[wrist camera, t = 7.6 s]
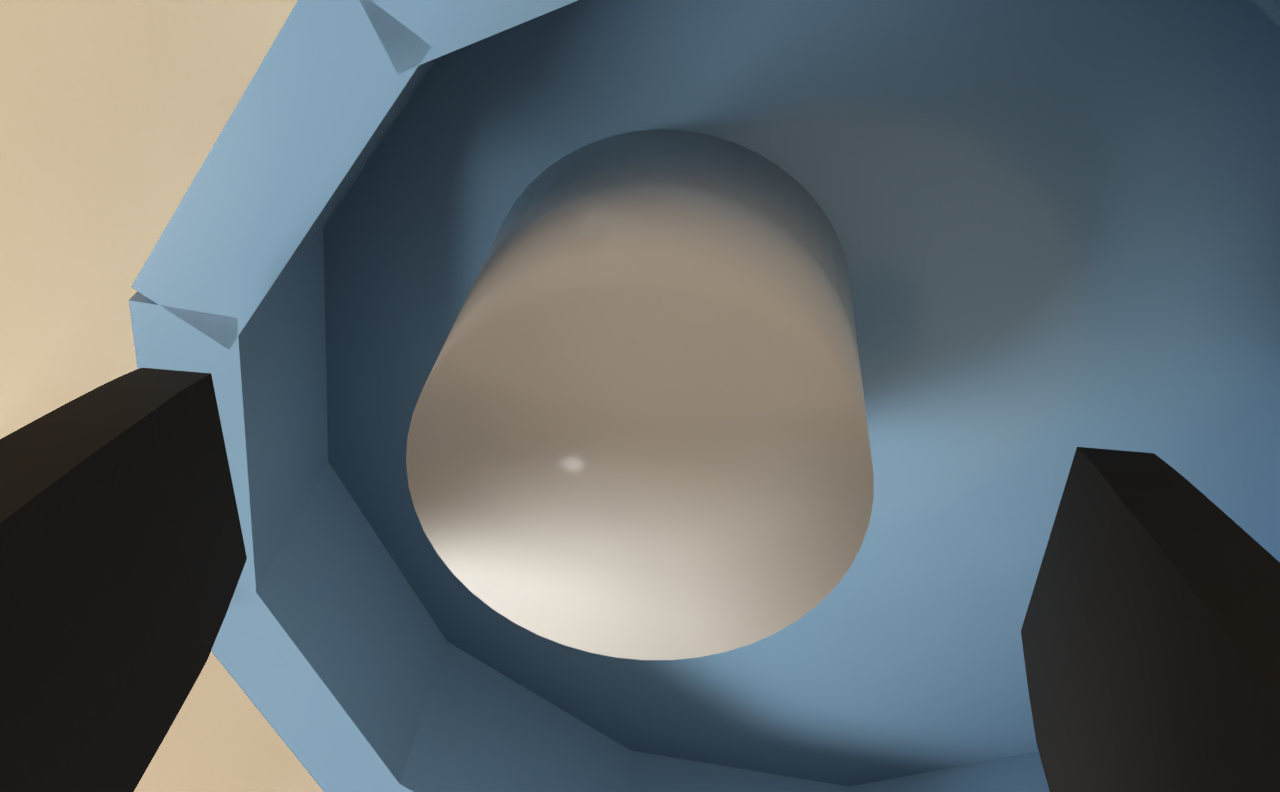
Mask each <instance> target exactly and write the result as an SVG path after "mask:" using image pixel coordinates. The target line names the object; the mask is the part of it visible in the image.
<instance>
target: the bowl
mask: <svg viewBox="0 0 1280 792" xmlns="http://www.w3.org/2000/svg"><path fill="white" fill-rule="evenodd" d="M649 130H677V131H689V132H695V133H700V134H705V135H711V136H715V137H718V138H721V139H724V140H727V141H730V142H733V143H736V144H739V145H741V146H743V147H745V148H747V149H750V150H752V151H754V152H756V153H758V154H760V155H762V156H763V157H765V158H767V159H768V160H770V161H771V162H773V163H774V164H776V165H778V166H779V167H781V168H782V169H783V170H785V171H786V172H787V173H788V174H789V175H790V176H792V177H793V178H794V179H795V180H796V181H798V182H799V183H800V184H801V185H802V186H803V187H804V188H805V189H806V191H807V192H808V193H809V194H810V195H811V196H812V197H813V198H814V199H815V201H816V202H817V203H818V204H819V206H820V207H821V209H822V210H823V212H824V213H825V215H826V216H827V218H828V219H829V221H830V222H831V225H832V227H833V229H834V231H835V233H836V235H837V237H838V239H839V241H840V244H841V247H842V250H843V253H844V256H845V259H846V263H847V268H848V274H849V280H850V287H851V295H852V303H853V311H854V319H855V327H856V336H857V344H858V352H859V360H860V368H861V376H862V384H863V392H864V400H865V408H866V416H867V424H868V433H869V441H870V449H871V457H872V465H873V473H874V499H873V505H872V511H871V516H870V522H869V526H868V529H867V531H866V534H865V537H864V540H863V543H862V546H861V548H860V550H859V552H858V553H857V555H856V557H855V559H854V561H853V563H852V565H851V566H850V568H849V570H848V571H847V572H846V574H845V575H844V576H843V578H842V579H841V580H840V582H839V583H838V584H837V586H836V587H835V588H834V589H833V590H832V591H831V592H830V593H829V594H828V595H827V596H826V597H825V598H824V599H823V600H822V601H821V602H820V603H819V604H818V605H817V606H816V607H814V608H813V609H812V610H810V611H809V612H808V613H807V614H805V615H804V616H803V617H801V618H800V619H799V620H797V621H796V622H794V623H792V624H791V625H789V626H787V627H785V628H784V629H782V630H780V631H779V632H777V633H775V634H773V635H771V636H768V637H766V638H764V639H761V640H759V641H757V642H755V643H752V644H750V645H747V646H743V647H740V648H737V649H734V650H731V651H727V652H723V653H718V654H713V655H708V656H703V657H698V658H688V659H678V660H637V659H626V658H616V657H611V656H606V655H600V654H595V653H590V652H586V651H583V650H579V649H576V648H572V647H569V646H565V645H562V644H560V643H557V642H555V641H552V640H549V639H547V638H544V637H542V636H539V635H537V634H535V633H533V632H531V631H529V630H527V629H525V628H523V627H521V626H519V625H517V624H515V623H514V622H512V621H511V620H509V619H507V618H506V617H504V616H503V615H501V614H500V613H498V612H496V611H495V610H493V609H492V608H491V607H489V606H488V605H487V604H486V603H484V602H483V601H482V600H481V599H479V598H478V597H477V596H476V595H474V594H473V593H472V592H471V591H470V590H469V589H468V588H467V587H466V586H465V585H464V584H463V583H462V582H461V581H460V580H459V579H458V578H457V577H456V576H455V575H454V574H453V573H452V572H451V570H450V569H449V568H448V567H447V565H446V564H445V563H444V562H443V560H442V559H441V558H440V556H439V555H438V554H437V552H436V551H435V549H434V547H433V546H432V544H431V542H430V541H429V539H428V537H427V536H426V534H425V532H424V530H423V527H422V525H421V523H420V520H419V518H418V516H417V513H416V511H415V508H414V504H413V501H412V497H411V493H410V489H409V485H408V475H407V466H406V454H407V437H408V433H409V428H410V424H411V419H412V415H413V412H414V409H415V407H416V404H417V402H418V399H419V397H420V394H421V392H422V390H423V387H424V385H425V383H426V381H427V379H428V377H429V375H430V373H431V371H432V369H433V367H434V364H435V362H436V360H437V358H438V356H439V354H440V352H441V350H442V348H443V346H444V344H445V342H446V339H447V337H448V335H449V333H450V331H451V329H452V327H453V325H454V323H455V321H456V319H457V317H458V314H459V312H460V310H461V308H462V306H463V304H464V302H465V300H466V298H467V296H468V294H469V292H470V289H471V287H472V285H473V283H474V281H475V279H476V277H477V275H478V273H479V271H480V269H481V267H482V264H483V262H484V260H485V258H486V256H487V254H488V252H489V250H490V248H491V246H492V244H493V241H494V239H495V237H496V235H497V233H498V231H499V229H500V227H501V225H502V223H503V221H504V219H505V217H506V216H507V214H508V212H509V211H510V209H511V207H512V206H513V204H514V202H515V201H516V200H517V199H518V197H519V196H520V195H521V194H522V192H523V191H524V190H525V189H526V188H527V186H528V185H529V184H530V183H531V182H532V181H533V180H534V179H535V178H537V177H538V176H539V175H540V174H541V173H542V172H543V171H544V170H545V169H546V168H548V167H549V166H551V165H552V164H554V163H555V162H557V161H558V160H560V159H561V158H563V157H564V156H566V155H567V154H569V153H571V152H573V151H575V150H577V149H579V148H581V147H583V146H585V145H587V144H590V143H593V142H596V141H599V140H602V139H605V138H608V137H611V136H615V135H620V134H625V133H630V132H635V131H649ZM132 288H133V289H135V290H136V291H138V292H137V293H136V294H135V295H134V296H133V297H132V298H131V299H130V300H129V306H130V313H131V321H132V329H133V337H134V345H135V352H136V360H137V368H138V369H140V368H153V369H164V370H176V371H188V372H200V373H211V375H212V380H213V385H214V390H215V396H216V401H217V406H218V411H219V416H220V421H221V427H222V432H223V437H224V442H225V447H226V452H227V458H228V463H229V468H230V473H231V478H232V484H233V489H234V494H235V499H236V504H237V509H238V515H239V520H240V525H241V530H242V535H243V540H244V546H245V551H246V556H247V560H246V563H245V565H244V568H243V571H242V573H241V576H240V579H239V581H238V584H237V587H236V589H235V592H234V595H233V597H232V600H231V603H230V605H229V608H228V611H227V613H226V616H225V618H224V621H223V623H222V625H221V628H220V630H219V633H218V635H217V637H216V640H215V642H214V645H213V647H212V650H211V651H212V653H213V654H214V655H215V656H216V658H217V659H218V660H219V661H220V663H221V664H222V665H223V666H224V668H225V669H226V670H227V671H228V673H229V674H230V675H231V676H232V678H233V679H234V680H235V681H236V683H237V684H238V685H239V686H240V688H241V689H242V690H243V691H244V693H245V694H246V695H247V696H248V698H249V699H250V700H251V701H252V703H253V704H254V705H255V706H256V708H257V709H258V710H259V711H260V713H261V714H262V715H263V716H264V718H265V719H266V720H267V721H268V723H269V724H270V725H271V726H272V727H273V729H274V730H275V731H276V732H277V734H278V735H279V736H280V737H281V739H282V740H283V741H284V742H285V744H286V745H287V746H288V747H289V749H290V750H291V751H292V752H293V754H294V755H295V756H296V757H297V759H298V760H299V761H300V762H301V764H302V765H303V766H304V767H305V769H306V770H307V771H308V772H309V774H310V775H311V776H312V777H313V779H314V780H315V781H316V782H317V784H318V785H319V786H320V787H321V789H322V790H323V791H324V792H1050V791H1049V787H1048V784H1047V780H1046V776H1045V773H1044V769H1043V765H1042V762H1041V758H1040V754H1039V750H1038V746H1037V743H1036V737H1035V730H1034V724H1033V717H1032V711H1031V704H1030V698H1029V692H1028V684H1027V676H1026V668H1025V660H1024V652H1023V644H1022V637H1021V629H1022V626H1023V622H1024V619H1025V616H1026V612H1027V609H1028V606H1029V603H1030V599H1031V596H1032V593H1033V589H1034V586H1035V583H1036V580H1037V576H1038V573H1039V570H1040V566H1041V563H1042V560H1043V557H1044V553H1045V550H1046V547H1047V544H1048V540H1049V537H1050V534H1051V530H1052V527H1053V524H1054V521H1055V517H1056V514H1057V511H1058V507H1059V504H1060V501H1061V498H1062V494H1063V491H1064V488H1065V484H1066V481H1067V478H1068V475H1069V471H1070V468H1071V465H1072V462H1073V458H1074V455H1075V452H1076V448H1077V447H1086V448H1098V449H1109V450H1121V451H1133V452H1145V453H1154V454H1156V455H1157V456H1158V457H1160V458H1161V459H1162V460H1163V461H1165V462H1166V463H1167V464H1168V465H1170V466H1171V467H1172V468H1173V469H1175V470H1176V471H1177V472H1178V473H1179V474H1181V475H1182V476H1183V477H1184V478H1185V479H1187V480H1188V481H1189V482H1190V483H1191V484H1192V485H1193V486H1195V487H1196V488H1197V489H1198V490H1199V491H1200V492H1201V493H1203V494H1204V495H1205V496H1206V497H1207V498H1208V499H1209V500H1210V501H1212V502H1213V503H1214V504H1215V505H1216V506H1217V507H1218V508H1220V509H1221V510H1222V511H1223V512H1224V513H1225V514H1226V515H1227V516H1228V517H1230V518H1231V519H1232V520H1233V521H1234V522H1235V523H1236V524H1237V525H1239V526H1240V527H1241V528H1242V529H1243V530H1244V531H1245V532H1246V533H1247V534H1249V535H1250V536H1251V537H1252V538H1253V539H1254V540H1255V541H1256V542H1258V543H1259V544H1260V545H1261V546H1262V547H1263V548H1264V549H1265V550H1266V551H1268V552H1269V553H1270V554H1271V555H1272V556H1273V557H1274V558H1275V559H1276V560H1278V561H1279V562H1280V0H298V1H297V3H296V5H295V6H294V8H293V10H292V12H291V13H290V15H289V17H288V18H287V20H286V22H285V24H284V25H283V27H282V29H281V30H280V32H279V34H278V36H277V37H276V39H275V41H274V43H273V44H272V46H271V48H270V49H269V51H268V53H267V55H266V56H265V58H264V60H263V61H262V63H261V65H260V67H259V68H258V70H257V72H256V73H255V75H254V77H253V79H252V80H251V82H250V84H249V85H248V87H247V89H246V91H245V92H244V94H243V96H242V98H241V99H240V101H239V103H238V104H237V106H236V108H235V110H234V111H233V113H232V115H231V116H230V118H229V120H228V122H227V123H226V125H225V127H224V128H223V130H222V132H221V134H220V135H219V137H218V139H217V141H216V142H215V144H214V146H213V147H212V149H211V151H210V153H209V154H208V156H207V158H206V159H205V161H204V163H203V165H202V166H201V168H200V170H199V171H198V173H197V175H196V177H195V178H194V180H193V182H192V183H191V185H190V187H189V189H188V190H187V192H186V194H185V196H184V197H183V199H182V201H181V202H180V204H179V206H178V208H177V209H176V211H175V213H174V214H173V216H172V218H171V220H170V221H169V223H168V225H167V226H166V228H165V230H164V232H163V233H162V235H161V237H160V239H159V240H158V242H157V244H156V245H155V247H154V249H153V251H152V252H151V254H150V256H149V257H148V259H147V261H146V263H145V264H144V266H143V268H142V269H141V271H140V273H139V275H138V276H137V278H136V280H135V281H134V283H133V285H132Z"/></svg>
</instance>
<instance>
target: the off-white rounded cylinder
mask: <svg viewBox="0 0 1280 792" xmlns="http://www.w3.org/2000/svg"><path fill="white" fill-rule="evenodd" d="M406 466H407V475H408V485H409V489H410V493H411V497H412V501H413V504H414V508H415V511H416V513H417V516H418V518H419V520H420V523H421V525H422V527H423V530H424V532H425V534H426V536H427V537H428V539H429V541H430V542H431V544H432V546H433V547H434V549H435V551H436V552H437V554H438V555H439V556H440V558H441V559H442V560H443V562H444V563H445V564H446V565H447V567H448V568H449V569H450V570H451V572H452V573H453V574H454V575H455V576H456V577H457V578H458V579H459V580H460V581H461V582H462V583H463V584H464V585H465V586H466V587H467V588H468V589H469V590H470V591H471V592H472V593H473V594H474V595H476V596H477V597H478V598H479V599H481V600H482V601H483V602H484V603H486V604H487V605H488V606H489V607H491V608H492V609H493V610H495V611H496V612H498V613H500V614H501V615H503V616H504V617H506V618H507V619H509V620H511V621H512V622H514V623H515V624H517V625H519V626H521V627H523V628H525V629H527V630H529V631H531V632H533V633H535V634H537V635H539V636H542V637H544V638H547V639H549V640H552V641H555V642H557V643H560V644H562V645H565V646H569V647H572V648H576V649H579V650H583V651H586V652H590V653H595V654H600V655H606V656H611V657H616V658H626V659H637V660H678V659H688V658H698V657H703V656H708V655H713V654H718V653H723V652H727V651H731V650H734V649H737V648H740V647H743V646H747V645H750V644H752V643H755V642H757V641H759V640H761V639H764V638H766V637H768V636H771V635H773V634H775V633H777V632H779V631H780V630H782V629H784V628H785V627H787V626H789V625H791V624H792V623H794V622H796V621H797V620H799V619H800V618H801V617H803V616H804V615H805V614H807V613H808V612H809V611H810V610H812V609H813V608H814V607H816V606H817V605H818V604H819V603H820V602H821V601H822V600H823V599H824V598H825V597H826V596H827V595H828V594H829V593H830V592H831V591H832V590H833V589H834V588H835V587H836V586H837V584H838V583H839V582H840V580H841V579H842V578H843V576H844V575H845V574H846V572H847V571H848V570H849V568H850V566H851V565H852V563H853V561H854V559H855V557H856V555H857V553H858V552H859V550H860V548H861V546H862V543H863V540H864V537H865V534H866V531H867V529H868V526H869V522H870V516H871V511H872V505H873V499H874V473H873V465H872V457H871V449H870V441H869V433H868V424H867V416H866V408H865V400H864V392H863V384H862V376H861V368H860V360H859V352H858V344H857V336H856V327H855V319H854V311H853V303H852V295H851V287H850V280H849V274H848V268H847V263H846V259H845V256H844V253H843V250H842V247H841V244H840V241H839V239H838V237H837V235H836V233H835V231H834V229H833V227H832V225H831V222H830V221H829V219H828V218H827V216H826V215H825V213H824V212H823V210H822V209H821V207H820V206H819V204H818V203H817V202H816V201H815V199H814V198H813V197H812V196H811V195H810V194H809V193H808V192H807V191H806V189H805V188H804V187H803V186H802V185H801V184H800V183H799V182H798V181H796V180H795V179H794V178H793V177H792V176H790V175H789V174H788V173H787V172H786V171H785V170H783V169H782V168H781V167H779V166H778V165H776V164H774V163H773V162H771V161H770V160H768V159H767V158H765V157H763V156H762V155H760V154H758V153H756V152H754V151H752V150H750V149H747V148H745V147H743V146H741V145H739V144H736V143H733V142H730V141H727V140H724V139H721V138H718V137H715V136H711V135H705V134H700V133H695V132H689V131H677V130H649V131H635V132H630V133H625V134H620V135H615V136H611V137H608V138H605V139H602V140H599V141H596V142H593V143H590V144H587V145H585V146H583V147H581V148H579V149H577V150H575V151H573V152H571V153H569V154H567V155H566V156H564V157H563V158H561V159H560V160H558V161H557V162H555V163H554V164H552V165H551V166H549V167H548V168H546V169H545V170H544V171H543V172H542V173H541V174H540V175H539V176H538V177H537V178H535V179H534V180H533V181H532V182H531V183H530V184H529V185H528V186H527V188H526V189H525V190H524V191H523V192H522V194H521V195H520V196H519V197H518V199H517V200H516V201H515V202H514V204H513V206H512V207H511V209H510V211H509V212H508V214H507V216H506V217H505V219H504V221H503V223H502V225H501V227H500V229H499V231H498V233H497V235H496V237H495V239H494V241H493V244H492V246H491V248H490V250H489V252H488V254H487V256H486V258H485V260H484V262H483V264H482V267H481V269H480V271H479V273H478V275H477V277H476V279H475V281H474V283H473V285H472V287H471V289H470V292H469V294H468V296H467V298H466V300H465V302H464V304H463V306H462V308H461V310H460V312H459V314H458V317H457V319H456V321H455V323H454V325H453V327H452V329H451V331H450V333H449V335H448V337H447V339H446V342H445V344H444V346H443V348H442V350H441V352H440V354H439V356H438V358H437V360H436V362H435V364H434V367H433V369H432V371H431V373H430V375H429V377H428V379H427V381H426V383H425V385H424V387H423V390H422V392H421V394H420V397H419V399H418V402H417V404H416V407H415V409H414V412H413V415H412V419H411V424H410V428H409V433H408V437H407V454H406Z"/></svg>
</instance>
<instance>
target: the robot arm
mask: <svg viewBox="0 0 1280 792" xmlns="http://www.w3.org/2000/svg"><path fill="white" fill-rule="evenodd" d="M246 560H247V556H246V551H245V546H244V540H243V535H242V530H241V525H240V520H239V515H238V509H237V504H236V499H235V494H234V489H233V484H232V478H231V473H230V468H229V463H228V458H227V452H226V447H225V442H224V437H223V432H222V427H221V421H220V416H219V411H218V406H217V401H216V396H215V390H214V385H213V380H212V375H211V373H200V372H188V371H176V370H164V369H153V368H140V369H137V370H135V371H133V372H130V373H128V374H126V375H123V376H121V377H119V378H117V379H114V380H112V381H110V382H108V383H106V384H104V385H102V386H100V387H98V388H96V389H94V390H92V391H90V392H88V393H86V394H84V395H82V396H80V397H78V398H77V399H75V400H73V401H71V402H69V403H67V404H65V405H63V406H61V407H59V408H58V409H56V410H54V411H52V412H50V413H48V414H46V415H44V416H43V417H41V418H39V419H37V420H35V421H33V422H32V423H30V424H28V425H26V426H24V427H22V428H20V429H19V430H17V431H15V432H13V433H11V434H9V435H8V436H6V437H4V438H2V439H0V792H134V790H135V788H136V786H137V785H138V783H139V781H140V779H141V778H142V776H143V774H144V772H145V771H146V769H147V767H148V765H149V764H150V762H151V760H152V758H153V757H154V755H155V753H156V751H157V750H158V748H159V746H160V744H161V743H162V741H163V739H164V737H165V735H166V734H167V732H168V730H169V728H170V726H171V725H172V723H173V721H174V719H175V718H176V716H177V714H178V712H179V710H180V709H181V707H182V705H183V703H184V701H185V700H186V698H187V696H188V694H189V692H190V691H191V689H192V687H193V685H194V683H195V682H196V680H197V678H198V676H199V674H200V672H201V670H202V669H203V667H204V665H205V663H206V661H207V659H208V657H209V654H210V652H211V650H212V647H213V645H214V642H215V640H216V637H217V635H218V633H219V630H220V628H221V625H222V623H223V621H224V618H225V616H226V613H227V611H228V608H229V605H230V603H231V600H232V597H233V595H234V592H235V589H236V587H237V584H238V581H239V579H240V576H241V573H242V571H243V568H244V565H245V563H246ZM1021 637H1022V644H1023V652H1024V660H1025V668H1026V676H1027V684H1028V692H1029V698H1030V704H1031V711H1032V717H1033V724H1034V730H1035V737H1036V743H1037V746H1038V750H1039V754H1040V758H1041V762H1042V765H1043V769H1044V773H1045V776H1046V780H1047V784H1048V787H1049V791H1050V792H1280V562H1279V561H1278V560H1276V559H1275V558H1274V557H1273V556H1272V555H1271V554H1270V553H1269V552H1268V551H1266V550H1265V549H1264V548H1263V547H1262V546H1261V545H1260V544H1259V543H1258V542H1256V541H1255V540H1254V539H1253V538H1252V537H1251V536H1250V535H1249V534H1247V533H1246V532H1245V531H1244V530H1243V529H1242V528H1241V527H1240V526H1239V525H1237V524H1236V523H1235V522H1234V521H1233V520H1232V519H1231V518H1230V517H1228V516H1227V515H1226V514H1225V513H1224V512H1223V511H1222V510H1221V509H1220V508H1218V507H1217V506H1216V505H1215V504H1214V503H1213V502H1212V501H1210V500H1209V499H1208V498H1207V497H1206V496H1205V495H1204V494H1203V493H1201V492H1200V491H1199V490H1198V489H1197V488H1196V487H1195V486H1193V485H1192V484H1191V483H1190V482H1189V481H1188V480H1187V479H1185V478H1184V477H1183V476H1182V475H1181V474H1179V473H1178V472H1177V471H1176V470H1175V469H1173V468H1172V467H1171V466H1170V465H1168V464H1167V463H1166V462H1165V461H1163V460H1162V459H1161V458H1160V457H1158V456H1157V455H1156V454H1154V453H1145V452H1133V451H1121V450H1109V449H1098V448H1086V447H1077V448H1076V452H1075V455H1074V458H1073V462H1072V465H1071V468H1070V471H1069V475H1068V478H1067V481H1066V484H1065V488H1064V491H1063V494H1062V498H1061V501H1060V504H1059V507H1058V511H1057V514H1056V517H1055V521H1054V524H1053V527H1052V530H1051V534H1050V537H1049V540H1048V544H1047V547H1046V550H1045V553H1044V557H1043V560H1042V563H1041V566H1040V570H1039V573H1038V576H1037V580H1036V583H1035V586H1034V589H1033V593H1032V596H1031V599H1030V603H1029V606H1028V609H1027V612H1026V616H1025V619H1024V622H1023V626H1022V629H1021Z"/></svg>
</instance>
